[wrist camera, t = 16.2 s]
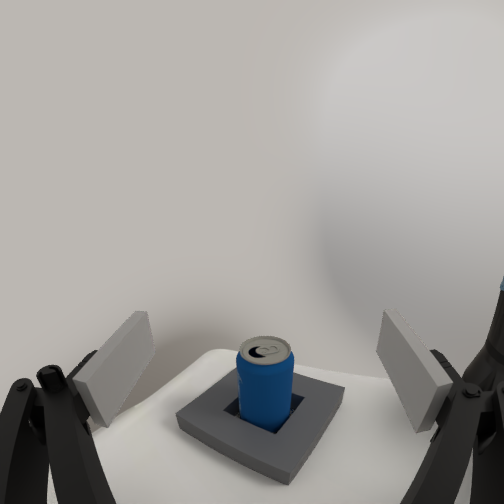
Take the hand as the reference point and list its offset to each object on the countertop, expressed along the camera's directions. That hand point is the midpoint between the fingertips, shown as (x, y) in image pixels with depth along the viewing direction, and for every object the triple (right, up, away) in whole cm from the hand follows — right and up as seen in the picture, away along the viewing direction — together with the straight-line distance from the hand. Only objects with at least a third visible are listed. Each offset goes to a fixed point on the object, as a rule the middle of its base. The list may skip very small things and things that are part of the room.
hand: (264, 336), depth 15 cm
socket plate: (+1, -18, +18) cm, 25 cm away
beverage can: (+1, -18, +18) cm, 25 cm away
